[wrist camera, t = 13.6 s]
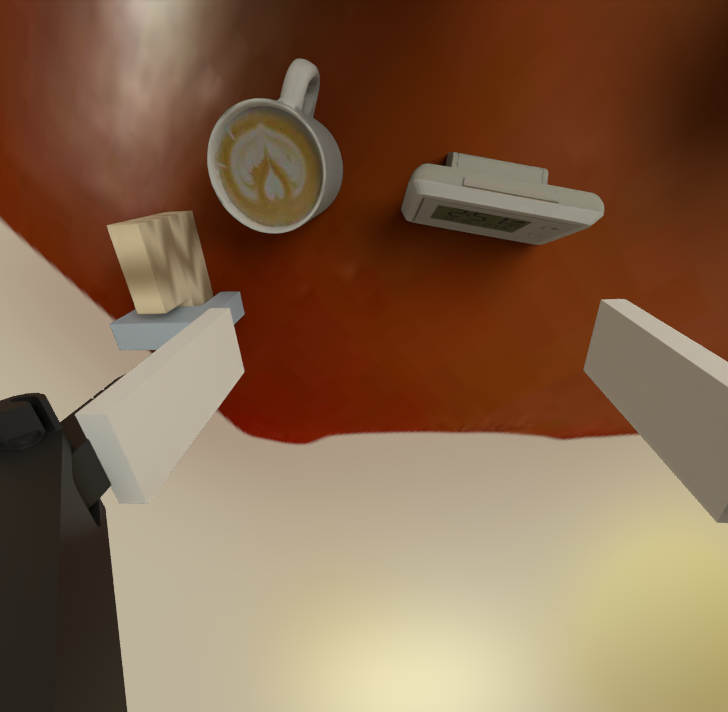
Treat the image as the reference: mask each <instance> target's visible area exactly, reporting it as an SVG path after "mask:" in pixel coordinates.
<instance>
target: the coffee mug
mask: <svg viewBox="0 0 728 712" xmlns="http://www.w3.org/2000/svg"><path fill="white" fill-rule="evenodd" d="M319 87H320V74H319V71H318V68H317V67H316V66H315V65H314V64H313V63H311V62H309V61H308V60H305V59H296V60H294V61H293V62H292V64H291V65H290V66H289V68H288V71H287V74H286V76H285V79H284V82H283V87H282V91H281V95H280V98H279V99H278V100H277V101H275V100H272V99H266V98H255V99H249V100H244V101H242V102H240V103H237V104H235V105H234V106H232V107H231V108H229V109H228V110H227V111H226V112H225V113H224V114H223V115H222V116H221V117H220V118H219V120H218V121H217V123H216V125H215V126H214V128H213V131H212V133H211V136H210V139H209V144H208V152H207V165H208V171H209V176H210V180H211V183H212V186H213V188H214V190H215V193H216V195H217V197H218V198H219V200H220V202H221V203H222V205H223V206H224V207H225V208H226V210H227V211H228V212H229V213H230V214H231V215H232V216H233V217H234V218H235V219H236V220H238V221H239V222H241V223H242V224H244V225H245V226H247V227H249V228H251V229H253V230H256V231H259V232H263V233H271V234H276V233H284V232H289V231H292V230H294V229H297V228H299V227H300V226H302V225H303V224H305V223H307V222H308V221H309V220H311V219H312V218H314V217H315V216H317V215H318V214H320V213H321V212H323V211H324V210H325V209H327V208H328V207H329V206H330V205H331V204H332V202H333V201H334V199H335V198H336V196H337V194H338V192H339V190H340V187H341V183H342V177H343V163H342V157H341V153H340V150H339V147H338V145H337V143H336V141H335V139H334V137H333V136H332V134H331V133H330V132H329V131H328V129H327V128H326V127H325V126H324V125H322V124H321V123H320V122H319V121H317V120H316V119H314V117H313V116H314V110H315V106H316V102H317V98H318V93H319Z"/></svg>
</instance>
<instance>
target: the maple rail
mask: <svg viewBox="0 0 728 712" xmlns="http://www.w3.org/2000/svg"><path fill="white" fill-rule="evenodd" d="M106 226H107V228H108V231H109V234H110V237H111V240H112V243H113V245H114V248H115V251H116V254H117V257H118V260H119V262H120V265H121V268H122V271H123V274H124V277H125V279H126V282H127V285H128V288H129V291H130V294H131V296H132V299H133V302H134V305H135V308H136V311H137V313H138V314H159V313H167V312H169V311H170V310H172V309H173V308H175V307H176V306H202V305H203V304H205V303H206V302H207V301H209V300H210V299H212V298H213V297H214V296H213V292H212V288H211V284H210V280H209V276H208V272H207V268H206V264H205V260H204V256H203V252H202V248H201V244H200V240H199V236H198V232H197V227H196V223H195V219H194V215H193V211H175V212H164V213H160V214H155V215H151V216H146V217H142V218H137V219H133V220H128V221H124V222H120V223H115V224H111V225H106Z"/></svg>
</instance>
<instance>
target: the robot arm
mask: <svg viewBox="0 0 728 712" xmlns="http://www.w3.org/2000/svg"><path fill="white" fill-rule="evenodd" d="M584 371H585V373H586V374H587V375H588V376H589V377H590V378H591V379H592V381H593V382H594V383H595V384H596V385H597V386H598V387H599V388H600V390H601V391H602V392H603V393H604V394H605V395H606V396H607V398H608V399H609V400H610V401H611V402H612V403H613V404H614V406H615V407H616V408H617V409H618V410H619V411H620V412H621V414H622V415H623V416H624V417H625V418H626V419H627V420H628V422H629V423H630V424H631V425H632V426H633V427H634V428H635V430H636V431H637V432H638V433H639V434H640V435H641V436H642V437H643V439H644V440H645V441H646V442H647V443H648V444H649V445H650V447H651V448H652V449H653V450H654V451H655V452H656V453H657V454H658V456H659V457H660V458H661V459H662V460H663V461H664V463H665V464H666V465H667V466H668V467H669V468H670V469H671V470H672V472H673V473H674V474H675V475H676V476H677V477H678V478H679V480H680V481H681V482H682V483H683V484H684V485H685V486H686V487H687V489H688V490H689V491H690V492H691V493H692V494H693V496H695V498H696V499H697V500H698V501H699V502H700V503H701V505H702V506H703V507H704V508H705V509H706V510H707V511H708V512H709V514H710V515H711V516H712V517H713V518H714V520H715V521H716V522H718V523H728V362H727V361H725V360H724V359H722V358H720V357H719V356H717V355H715V354H714V353H712V352H710V351H709V350H707V349H706V348H704V347H702V346H701V345H699V344H697V343H696V342H694V341H693V340H691V339H689V338H688V337H686V336H684V335H683V334H681V333H680V332H678V331H676V330H675V329H673V328H671V327H670V326H668V325H667V324H665V323H663V322H662V321H660V320H658V319H657V318H655V317H654V316H652V315H650V314H649V313H647V312H645V311H644V310H642V309H640V308H639V307H637V306H636V305H634V304H632V303H631V302H629V301H627V300H626V299H605V300H601V302H600V306H599V310H598V314H597V318H596V322H595V326H594V330H593V334H592V338H591V342H590V346H589V350H588V354H587V358H586V362H585V366H584ZM243 373H244V368H243V363H242V359H241V355H240V350H239V346H238V342H237V337H236V333H235V329H234V324H233V320H232V316H231V311H230V308H210V309H209V310H207V311H206V312H205V313H203V314H202V315H201V316H200V317H198V318H197V319H196V320H194V321H193V322H192V323H191V324H189V325H188V326H187V327H186V328H184V329H183V330H182V331H180V332H179V333H178V334H177V335H175V336H174V337H173V338H172V339H170V340H169V341H168V342H166V343H165V344H164V345H163V346H161V347H160V348H159V349H157V350H156V351H155V352H154V353H152V354H151V355H150V356H149V357H147V358H146V359H145V360H144V361H142V362H141V363H140V364H138V365H137V366H136V367H134V368H133V369H132V370H131V371H129V372H128V373H127V374H125V375H123V376H121V377H119V378H117V379H116V380H114V381H113V382H112V383H110V384H109V385H108V386H107V387H105V388H104V390H101V391H100V392H99V393H97V394H96V395H95V396H94V399H90V400H88V401H87V402H86V403H85V404H83V405H82V406H81V407H79V408H78V409H77V410H76V411H74V412H73V413H72V414H70V415H69V416H68V417H67V418H65V419H64V420H63V421H61V422H59V420H58V418H57V416H56V415H55V413H54V411H53V409H52V407H51V405H50V403H49V401H48V400H47V398H46V396H45V395H44V394H40V393H28V394H23V395H17V396H13V397H10V398H7V399H4V400H1V401H0V712H127V706H126V696H125V687H124V677H123V668H122V658H121V649H120V640H119V630H118V621H117V612H116V603H115V594H114V585H113V575H112V565H111V556H110V547H109V538H108V528H107V519H106V510H105V507H104V505H103V503H102V501H101V499H100V497H101V496H102V495H103V494H104V493H105V492H106V491H107V489H108V488H109V487H110V486H111V487H112V490H113V492H114V494H115V496H116V498H117V499H118V502H119V503H128V504H129V503H130V504H148V503H149V502H150V500H151V499H152V498H153V496H154V495H155V493H156V492H157V491H158V489H159V488H160V487H161V485H162V484H163V483H164V481H165V480H166V478H167V477H168V476H169V474H170V473H171V472H172V470H173V469H174V467H175V466H176V465H177V463H178V462H179V461H180V459H181V458H182V457H183V455H184V454H185V452H186V451H187V450H188V448H189V447H190V446H191V444H192V443H193V441H194V440H195V439H196V437H197V436H198V435H199V433H200V432H201V430H202V429H203V427H204V426H205V425H206V424H207V422H208V421H209V420H210V418H211V416H213V414H214V413H215V411H216V410H217V409H218V407H219V406H220V405H221V403H222V402H223V400H224V399H225V398H226V396H227V395H228V394H229V392H230V391H231V390H232V388H233V387H234V385H235V384H236V383H237V381H238V380H239V379H240V377H241V376H242V374H243Z"/></svg>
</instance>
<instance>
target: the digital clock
mask: <svg viewBox="0 0 728 712" xmlns="http://www.w3.org/2000/svg"><path fill="white" fill-rule="evenodd" d="M547 179H548V170H547V169H544V168H538V167H533V166H527V165H522V164H516V163H511V162H505V161H500V160H494V159H489V158H483V157H478V156H472V155H467V154H461V153H456V152H450V153H448V155H447V159H446V164H445V166H442V165H435V164H428V163H427V164H422V165H421V166H419V167H418V168H417V169H416V170H415V171H414V172H413V174H412V176H411V178H410V180H409V183H408V187H407V190H406V193H405V197H404V200H403V204H402V208H401V211H402V213H403V215H404V217H405V219H406V220H407V221H409V222H414V223H419V224H424V225H429V226H435V227H440V228H446V229H452V230H457V231H463V232H468V233H474V234H479V235H485V236H490V237H496V238H501V239H507V240H512V241H518V242H523V243H529V244H536V245H540V244H545V243H548V242H551V241H553V240H556V239H559V238H562V237H564V236H567V235H570V234H573V233H575V232H578V231H581V230H584V229H586V228H588V227H590V226H591V225H593V224H594V223H595V222H596V221H598V220H599V219H600V218H601V217H602V216H603V215H604V204H603V202H602V200H601V199H600V198H599V196H598V195H596V194H594V193H590V192H585V191H579V190H574V189H569V188H564V187H558V186H552V185H547Z"/></svg>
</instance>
